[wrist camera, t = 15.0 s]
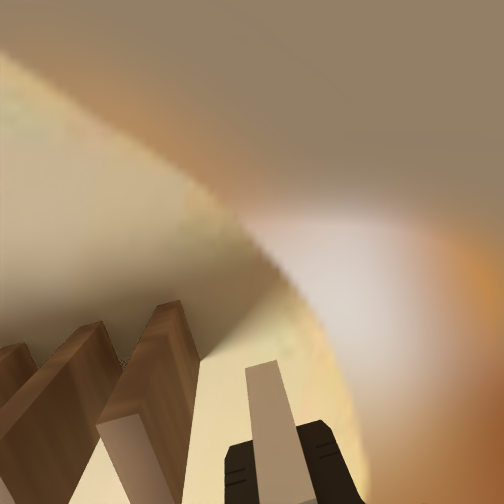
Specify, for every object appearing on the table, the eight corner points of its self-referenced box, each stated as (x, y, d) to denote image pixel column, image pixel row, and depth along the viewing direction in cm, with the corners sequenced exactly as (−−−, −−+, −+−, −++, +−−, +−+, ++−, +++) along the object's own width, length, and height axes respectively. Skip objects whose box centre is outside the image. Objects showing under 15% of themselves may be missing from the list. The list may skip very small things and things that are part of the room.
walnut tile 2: (105, 387, 23) (4, 565, 13) (79, 327, 22) (-57, 466, 11) (126, 381, 23) (44, 554, 13) (102, 320, 22) (-13, 455, 11)
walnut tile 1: (178, 367, 23) (141, 526, 13) (157, 306, 22) (95, 425, 12) (200, 361, 24) (179, 515, 13) (179, 300, 22) (138, 413, 12)
